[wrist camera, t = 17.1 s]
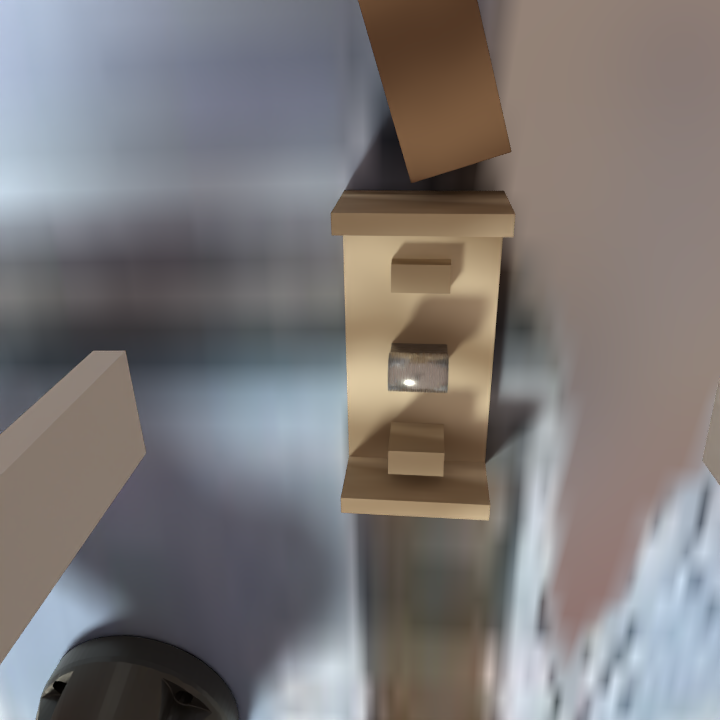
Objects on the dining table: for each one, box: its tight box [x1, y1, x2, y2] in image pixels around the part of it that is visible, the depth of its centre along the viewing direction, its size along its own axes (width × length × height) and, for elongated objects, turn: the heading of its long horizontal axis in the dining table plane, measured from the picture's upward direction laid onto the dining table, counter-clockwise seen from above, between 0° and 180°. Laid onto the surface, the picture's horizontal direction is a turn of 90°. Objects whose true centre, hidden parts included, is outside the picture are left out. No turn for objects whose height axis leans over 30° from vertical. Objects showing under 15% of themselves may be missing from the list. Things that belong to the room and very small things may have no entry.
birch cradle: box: [331, 190, 515, 520], centre depth 35 cm, size 16×8×5 cm, turn 1°
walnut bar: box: [358, 0, 511, 183], centre depth 29 cm, size 11×4×4 cm, turn 18°
